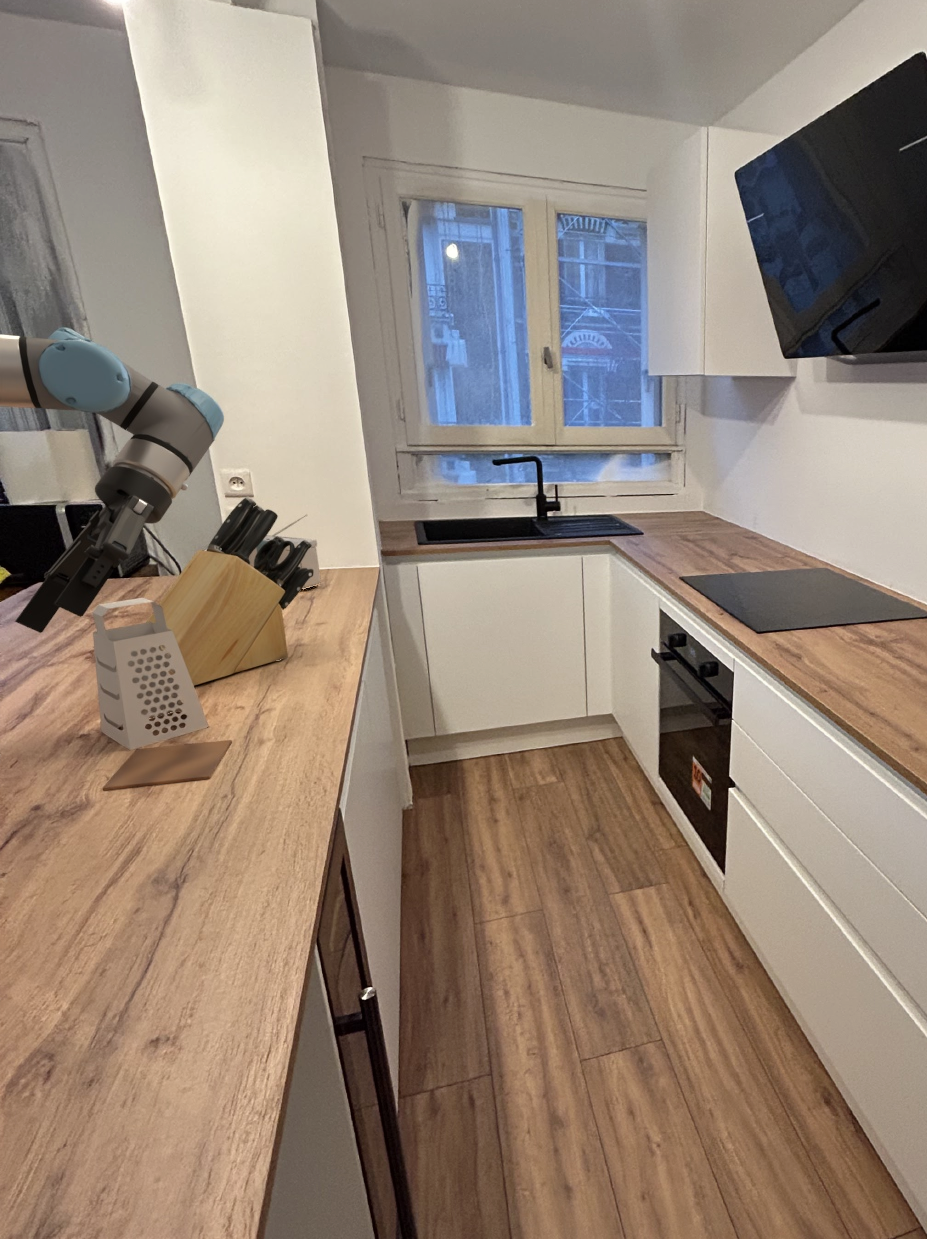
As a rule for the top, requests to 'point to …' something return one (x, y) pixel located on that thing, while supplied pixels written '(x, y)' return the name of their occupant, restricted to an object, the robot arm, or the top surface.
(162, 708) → the grater
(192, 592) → the knife block
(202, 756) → the cork trivet
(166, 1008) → the top surface
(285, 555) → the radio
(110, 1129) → the top surface
